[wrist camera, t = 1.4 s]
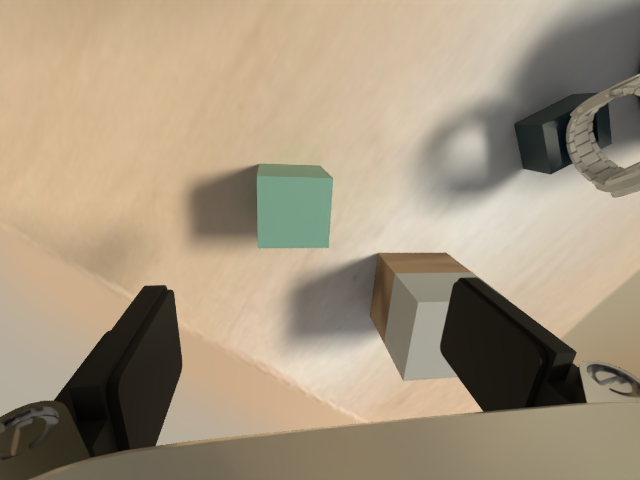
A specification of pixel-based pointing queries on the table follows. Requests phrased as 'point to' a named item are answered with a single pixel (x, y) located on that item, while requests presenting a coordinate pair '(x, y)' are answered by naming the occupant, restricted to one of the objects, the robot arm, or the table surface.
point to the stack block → (293, 206)
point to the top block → (420, 323)
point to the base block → (404, 264)
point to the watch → (578, 139)
